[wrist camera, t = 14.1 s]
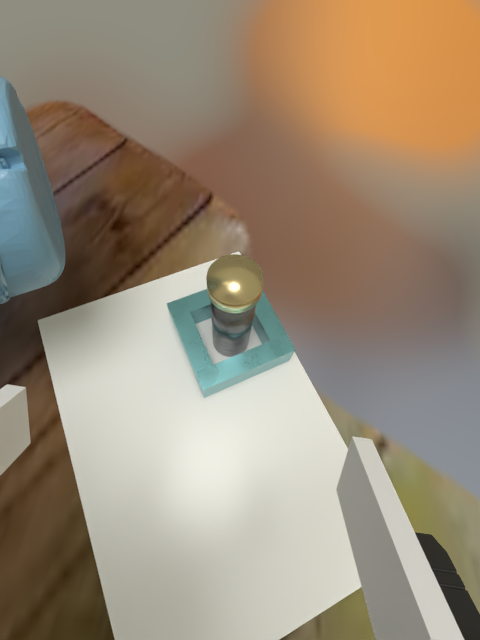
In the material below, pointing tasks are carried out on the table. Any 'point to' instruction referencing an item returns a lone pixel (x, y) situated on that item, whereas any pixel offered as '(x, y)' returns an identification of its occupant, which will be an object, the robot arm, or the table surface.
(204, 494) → the board
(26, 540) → the table surface
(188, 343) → the teal square frame
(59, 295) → the table surface
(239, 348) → the gold capped grey cylinder
